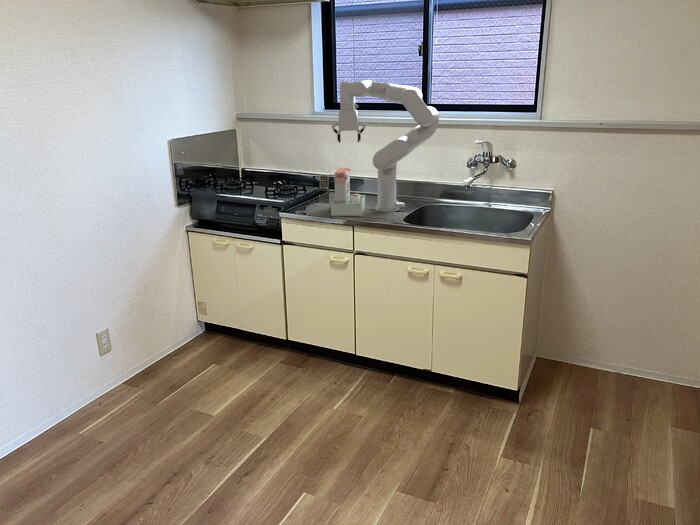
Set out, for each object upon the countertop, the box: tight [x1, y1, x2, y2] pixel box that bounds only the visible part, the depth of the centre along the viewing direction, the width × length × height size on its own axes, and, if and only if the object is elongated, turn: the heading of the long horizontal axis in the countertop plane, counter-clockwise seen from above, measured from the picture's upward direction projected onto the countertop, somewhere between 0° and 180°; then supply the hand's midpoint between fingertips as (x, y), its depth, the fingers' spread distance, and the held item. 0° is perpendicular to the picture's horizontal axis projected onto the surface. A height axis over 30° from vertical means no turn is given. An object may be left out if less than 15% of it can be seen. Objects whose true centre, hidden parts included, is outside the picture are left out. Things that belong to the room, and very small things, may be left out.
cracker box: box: [334, 167, 351, 203], centre depth 288 cm, size 14×6×21 cm, turn 171°
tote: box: [329, 194, 366, 217], centre depth 290 cm, size 16×18×7 cm
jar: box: [351, 193, 361, 203], centre depth 289 cm, size 4×4×9 cm
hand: (349, 142), depth 288 cm, fingers open, 9 cm apart
